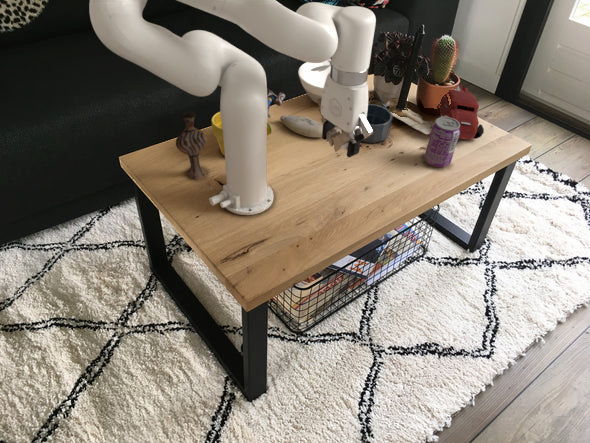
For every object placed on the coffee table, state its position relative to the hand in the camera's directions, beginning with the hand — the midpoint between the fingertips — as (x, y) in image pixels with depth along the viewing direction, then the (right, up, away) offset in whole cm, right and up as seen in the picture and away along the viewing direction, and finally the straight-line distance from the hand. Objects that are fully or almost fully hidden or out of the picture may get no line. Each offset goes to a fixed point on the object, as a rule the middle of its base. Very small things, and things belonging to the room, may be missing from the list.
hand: (340, 145), depth 113 cm
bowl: (0, +22, +46) cm, 51 cm away
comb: (+22, +11, +32) cm, 41 cm away
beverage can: (+28, -1, +23) cm, 37 cm away
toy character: (+1, -1, 0) cm, 1 cm away
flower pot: (-27, +2, +23) cm, 35 cm away
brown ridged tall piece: (-36, -5, +15) cm, 39 cm away
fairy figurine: (+1, +26, +37) cm, 45 cm away
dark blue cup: (+11, +9, +32) cm, 35 cm away
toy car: (+36, +13, +38) cm, 55 cm away
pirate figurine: (-24, +9, +23) cm, 34 cm away
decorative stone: (-8, +9, +32) cm, 34 cm away
